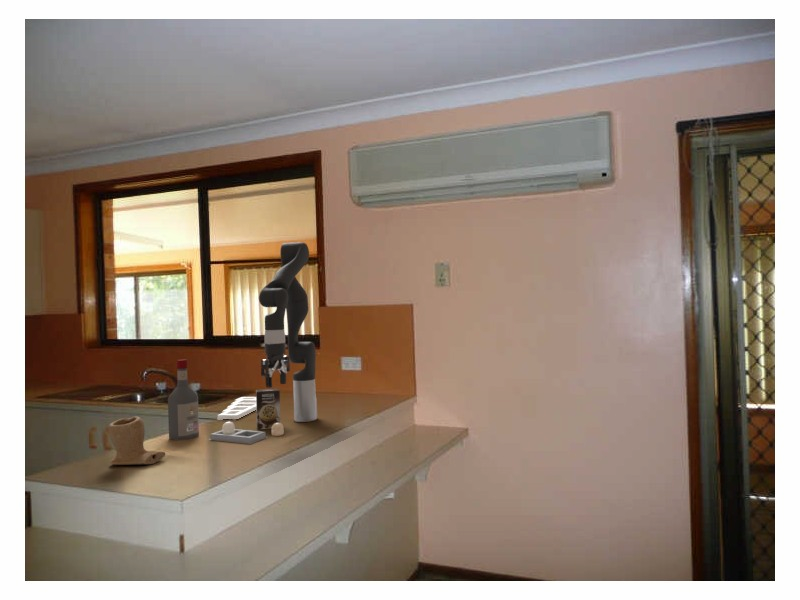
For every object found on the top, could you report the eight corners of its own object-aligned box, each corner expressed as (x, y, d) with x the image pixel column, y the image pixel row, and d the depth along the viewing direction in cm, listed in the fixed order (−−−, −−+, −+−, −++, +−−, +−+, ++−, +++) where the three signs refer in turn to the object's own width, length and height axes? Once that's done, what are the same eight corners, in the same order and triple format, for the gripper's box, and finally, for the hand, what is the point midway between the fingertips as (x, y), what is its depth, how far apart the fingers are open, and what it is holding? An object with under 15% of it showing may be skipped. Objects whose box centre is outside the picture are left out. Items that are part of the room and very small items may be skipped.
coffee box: (257, 433, 220) (255, 391, 220) (256, 429, 226) (255, 389, 226) (281, 431, 222) (279, 390, 222) (280, 427, 229) (278, 387, 228)
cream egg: (228, 435, 211) (227, 420, 211) (237, 436, 209) (237, 420, 209) (219, 438, 207) (219, 422, 207) (229, 439, 205) (229, 423, 205)
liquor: (202, 438, 214) (200, 359, 213) (182, 444, 206) (179, 361, 206) (186, 436, 218) (183, 358, 218) (165, 442, 210) (163, 360, 210)
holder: (237, 421, 246) (236, 415, 246) (198, 421, 248) (197, 415, 248) (275, 402, 290) (275, 396, 290) (242, 402, 293) (242, 396, 293)
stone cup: (100, 469, 178) (98, 421, 178) (124, 458, 189) (123, 413, 189) (144, 470, 175) (143, 421, 175) (166, 459, 187) (165, 413, 187)
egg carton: (227, 437, 215) (227, 428, 215) (268, 441, 207) (267, 431, 207) (208, 443, 206) (207, 434, 206) (250, 448, 198) (250, 438, 198)
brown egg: (276, 436, 214) (276, 421, 214) (286, 437, 213) (285, 421, 213) (269, 439, 210) (268, 423, 210) (279, 440, 209) (278, 424, 209)
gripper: (278, 340, 219) (279, 382, 219) (254, 343, 206) (255, 388, 206) (294, 340, 216) (295, 383, 216) (271, 343, 203) (272, 389, 203)
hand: (276, 385), depth 211 cm, fingers open, 8 cm apart
